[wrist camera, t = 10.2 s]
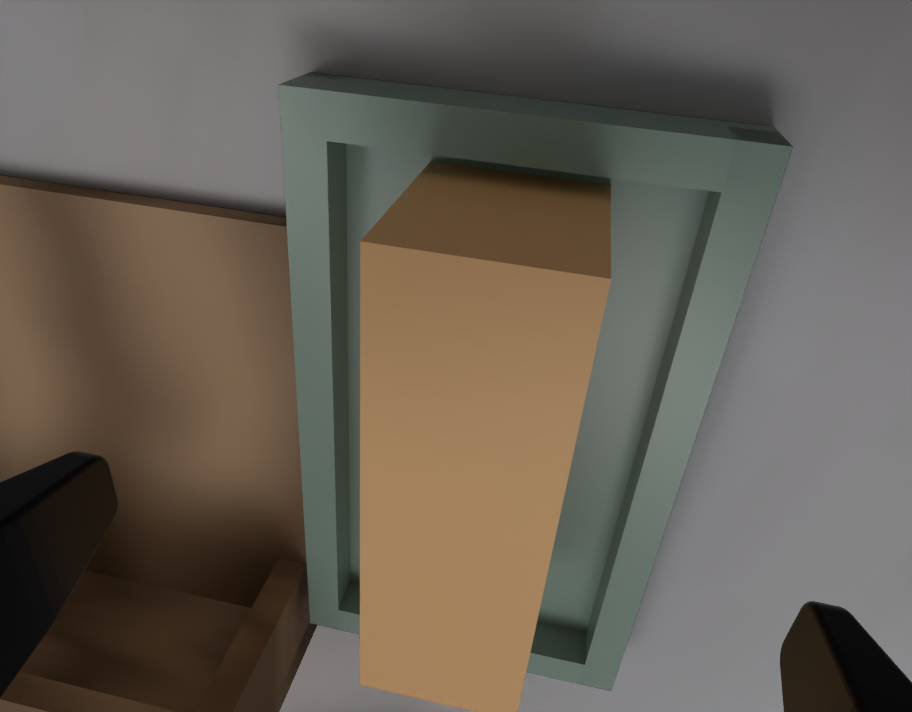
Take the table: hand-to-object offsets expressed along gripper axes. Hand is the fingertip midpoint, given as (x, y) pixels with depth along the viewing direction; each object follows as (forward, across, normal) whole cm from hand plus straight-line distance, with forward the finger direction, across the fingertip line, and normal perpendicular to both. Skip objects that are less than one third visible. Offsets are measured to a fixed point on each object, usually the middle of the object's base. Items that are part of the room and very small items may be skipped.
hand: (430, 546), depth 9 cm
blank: (+9, 0, +4) cm, 10 cm away
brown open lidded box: (+9, +13, +8) cm, 17 cm away
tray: (+9, 0, +5) cm, 10 cm away
